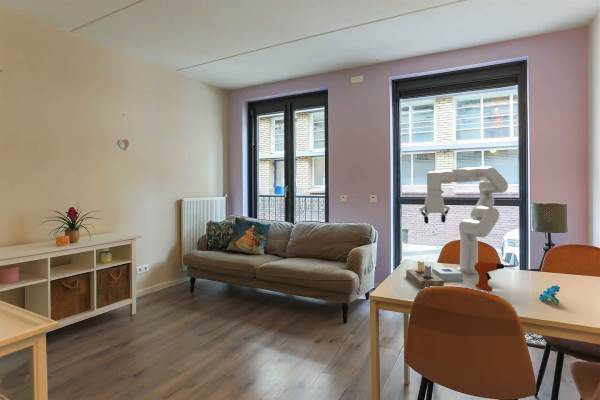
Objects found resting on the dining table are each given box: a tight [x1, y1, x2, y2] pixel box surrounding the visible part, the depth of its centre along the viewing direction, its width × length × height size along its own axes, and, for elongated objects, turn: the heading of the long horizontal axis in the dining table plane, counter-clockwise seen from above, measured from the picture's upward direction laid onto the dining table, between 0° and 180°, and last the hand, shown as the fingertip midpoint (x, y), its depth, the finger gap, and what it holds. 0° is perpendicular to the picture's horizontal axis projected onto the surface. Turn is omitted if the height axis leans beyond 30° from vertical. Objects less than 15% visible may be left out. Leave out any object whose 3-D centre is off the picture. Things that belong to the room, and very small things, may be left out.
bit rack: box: [405, 268, 445, 290], centre depth 185 cm, size 12×22×5 cm, turn 1°
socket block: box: [431, 266, 464, 282], centre depth 193 cm, size 12×12×5 cm
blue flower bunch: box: [538, 284, 561, 306], centre depth 157 cm, size 11×6×10 cm
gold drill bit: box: [417, 260, 425, 274], centre depth 189 cm, size 3×3×10 cm
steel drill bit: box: [424, 264, 432, 279], centre depth 179 cm, size 3×3×10 cm
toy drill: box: [474, 260, 516, 292], centre depth 173 cm, size 5×19×15 cm, turn 64°
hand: (434, 222), depth 197 cm, fingers open, 9 cm apart
